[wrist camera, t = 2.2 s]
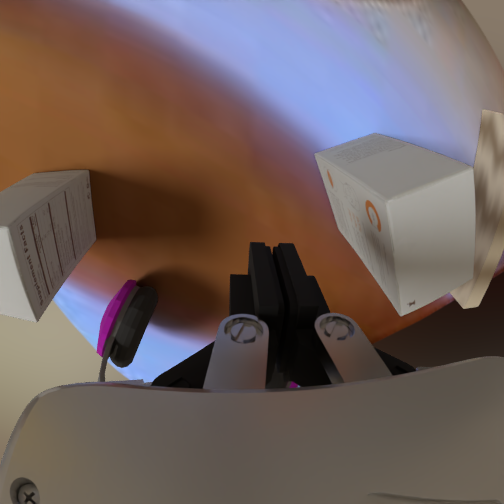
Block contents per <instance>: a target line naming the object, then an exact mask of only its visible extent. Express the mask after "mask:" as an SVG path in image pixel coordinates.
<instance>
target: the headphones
mask: <svg viewBox="0 0 504 504" xmlns="http://www.w3.org/2000/svg"><path fill="white" fill-rule="evenodd" d="M157 302H158V295H157V293H156V290H155V289H154V288H152V287H149V286H145V287H141V288H140V287H138V286H136V281H135V280H128V281H127V282H126V283H125V284H124V286H123V287H122V288H121V289H120V290H119V292H118V293H117V294H116V295H115V296H114V298H113V299H112V300H111V302H110V303H109V305H108V306H107V308H106V311H105V313H104V315H103V318H102V321H101V325H100V331H99V338H98V345H97V353H98V354H99V355H100V356H101V357H103V359H102V364H101V368H100V373H99V378H98V382H105V369H106V364H107V360H108V358H109V357H110V358H111V360H112V362H113V363H114V364H115V365H116V366H118V367H121V368H123V367H127V366H128V365H129V364H131V363H132V361H133V358H134V356H135V354H136V351H137V349H138V346H139V344H140V342H141V339H142V337H143V334H144V332H145V330H146V327H147V325H148V323H149V320H150V318H151V316H152V313H153V311H154V309H155V307H156V304H157ZM297 386H298V385H297V384H296V383H294V382H292V381H289V382H284V379H283V373H278V372H277V368H276V364H275V369H274V373H273V375H272V380H271V382H270V383H268V384H267V385H266V386H265V389H278V388H297Z"/></svg>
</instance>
